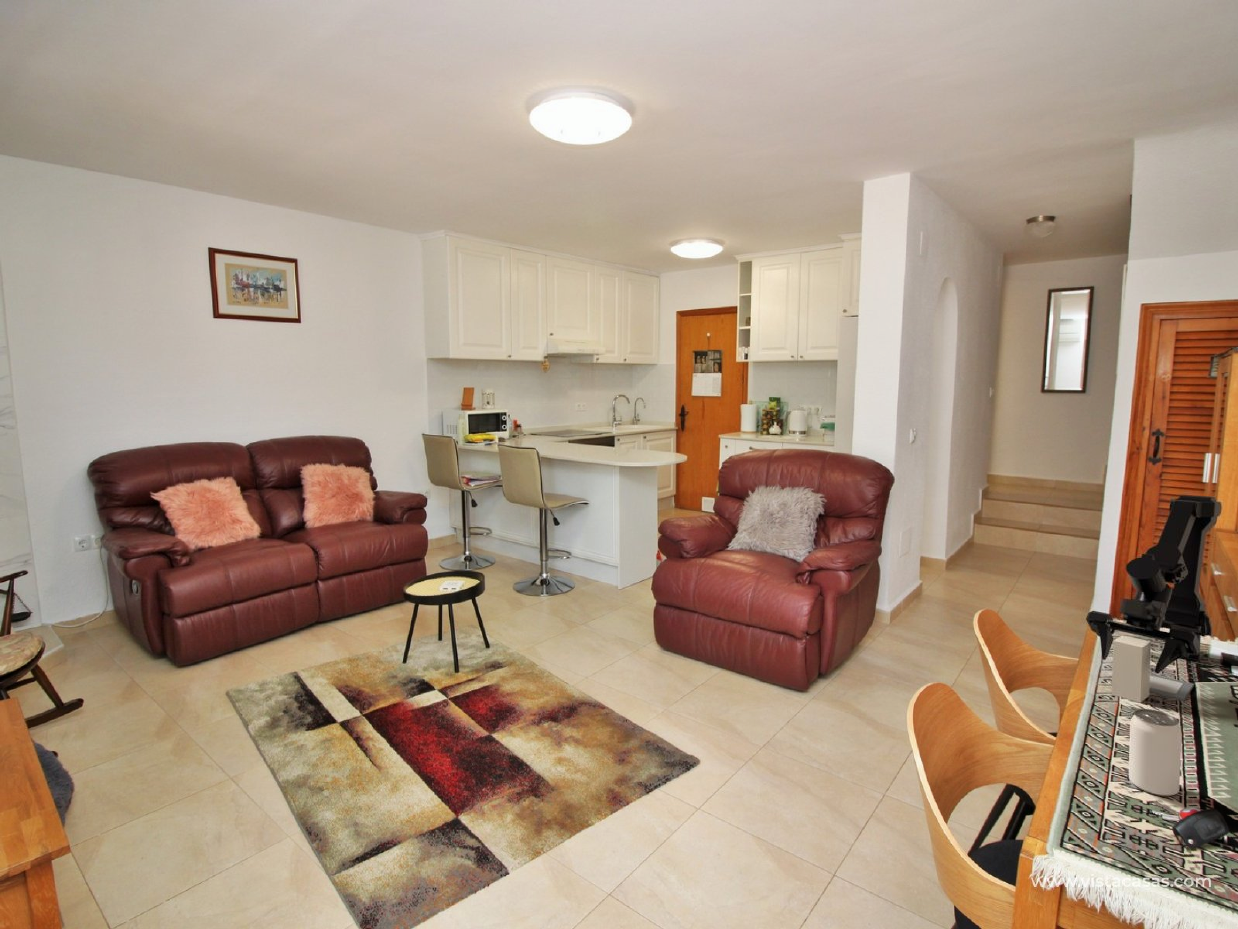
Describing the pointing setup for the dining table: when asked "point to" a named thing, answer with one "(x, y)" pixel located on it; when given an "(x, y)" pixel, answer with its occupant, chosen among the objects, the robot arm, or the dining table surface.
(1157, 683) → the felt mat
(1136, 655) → the cream block
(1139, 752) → the can
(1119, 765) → the dining table surface
